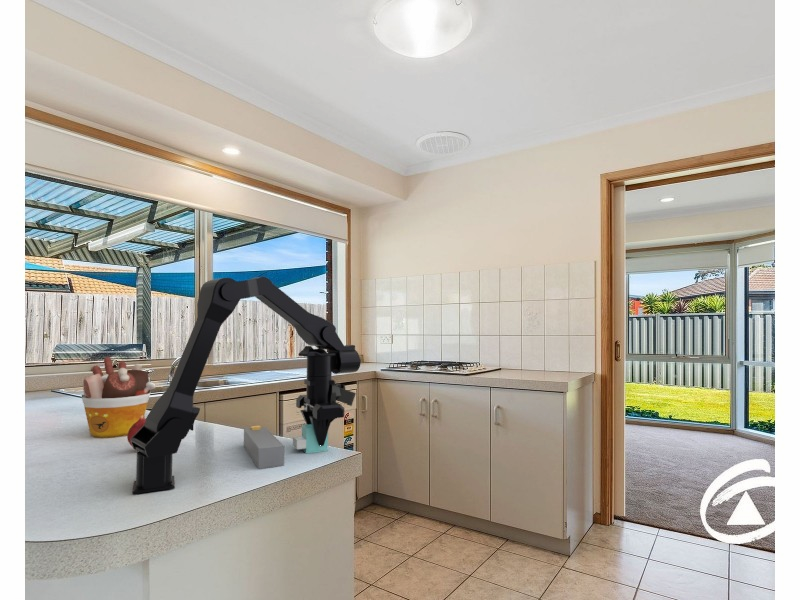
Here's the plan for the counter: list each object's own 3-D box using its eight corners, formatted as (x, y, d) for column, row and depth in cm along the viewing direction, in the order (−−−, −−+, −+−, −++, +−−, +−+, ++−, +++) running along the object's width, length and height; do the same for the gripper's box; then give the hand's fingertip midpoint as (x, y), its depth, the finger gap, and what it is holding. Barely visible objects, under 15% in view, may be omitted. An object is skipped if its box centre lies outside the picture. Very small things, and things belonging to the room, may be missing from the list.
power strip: (284, 465, 96) (284, 442, 97) (258, 469, 94) (259, 445, 94) (262, 439, 118) (262, 420, 119) (240, 441, 116) (241, 422, 116)
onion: (159, 451, 108) (160, 415, 108) (132, 456, 104) (133, 419, 104) (150, 446, 112) (151, 412, 112) (123, 451, 108) (124, 415, 108)
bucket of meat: (161, 433, 125) (163, 358, 126) (88, 445, 113) (91, 361, 114) (137, 422, 139) (139, 354, 140) (70, 431, 127) (72, 357, 128)
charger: (327, 450, 108) (327, 426, 108) (297, 454, 105) (297, 429, 105) (322, 446, 111) (322, 422, 112) (292, 450, 108) (292, 425, 109)
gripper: (366, 377, 105) (366, 448, 104) (338, 370, 122) (338, 431, 121) (318, 380, 100) (317, 455, 99) (296, 372, 117) (295, 436, 116)
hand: (318, 443), depth 109 cm, fingers closed on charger, 4 cm apart
